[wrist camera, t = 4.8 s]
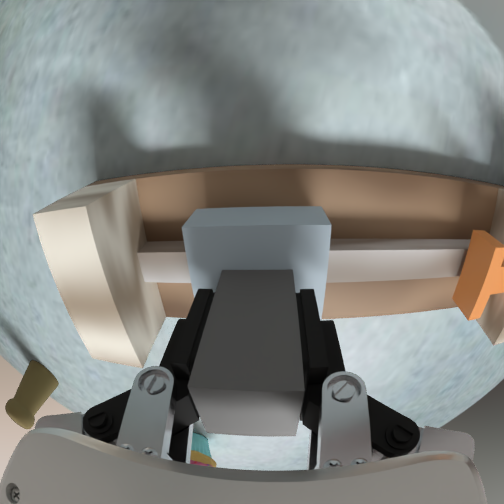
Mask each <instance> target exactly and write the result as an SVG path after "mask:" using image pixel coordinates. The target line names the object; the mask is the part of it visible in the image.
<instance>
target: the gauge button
mask: <svg viewBox="0 0 504 504" xmlns="http://www.w3.org/2000/svg"><path fill="white" fill-rule="evenodd" d="M503 292H504V245H503V244H502V243H501V242H499V241H498V240H497V239H495V238H494V237H493V236H491V235H490V234H489V233H487V232H486V231H485V230H473V232H472V236H471V240H470V244H469V248H468V251H467V255H466V258H465V262H464V265H463V268H462V271H461V274H460V277H459V280H458V283H457V286H456V289H455V292H454V294H453V297H452V299H453V301H454V302H455V303H456V304H457V306H458V307H459V309H460V310H461V311H462V313H463V314H464V315H465V317H466V318H467V320H468V321H469V320H473V319H478V318H480V317H481V315H482V313H483V311H484V308H485V306H486V304H487V301H488V299H489V297H490V295H491V294H497V293H503Z"/></svg>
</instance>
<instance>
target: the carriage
mask: <svg viewBox="0 0 504 504" xmlns="http://www.w3.org/2000/svg"><path fill="white" fill-rule="evenodd" d="M182 232H183V239H184V245H185V251H186V257H187V263H188V268H189V274H190V279H191V284H192V290H193V295H194V298H195V295H196V293H197V290H198V289H212V290H213V292H215V294H214V298H213V301H212V304H211V308H210V311H209V314H208V318H207V321H206V324H205V328H204V331H203V334H202V338H201V341H200V344H199V348H198V351H197V355H196V358H195V362H194V365H193V369H192V372H191V376H190V379H189V383H188V389H189V391H190V394H191V396H192V399H193V401H194V404H195V406H196V409H197V411H198V413H199V416H200V418H201V420H202V423H203V425H204V427H205V429H206V431H207V433H217V434H228V435H244V436H296V432H297V427H298V422H299V417H300V412H301V407H302V402H303V397H304V392H305V388H304V375H303V363H302V351H301V340H300V330H299V320H298V310H297V301H296V293H300V289H314V292H315V296H316V301H317V306H318V311H319V316H320V321H321V319H322V312H323V305H324V297H325V289H326V280H327V271H328V261H329V250H330V238H331V223H330V221H329V219H328V217H327V216H326V214H325V212H324V210H323V208H322V207H321V206H274V207H231V208H205V209H196V210H195V211H194V212H193V214H192V215H191V216H190V217H189V219H188V220H187V221H186V223H185V224H184V225H183V226H182Z"/></svg>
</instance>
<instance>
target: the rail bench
mask: <svg viewBox="0 0 504 504" xmlns="http://www.w3.org/2000/svg"><path fill="white" fill-rule="evenodd" d="M274 206H321V207H322V208H323V210H324V212H325V214H326V216H327V217H328V219H329V221H330V223H331V238H330V250H329V261H328V271H327V280H326V289H325V297H324V305H323V312H322V319H335V318H354V317H369V316H382V315H393V314H404V313H413V312H422V311H431V310H439V309H446V308H453V307H458V306H457V304H456V303H455V302H454V301H453V299H452V297H453V294H454V292H455V289H456V286H457V283H458V280H459V277H460V274H461V271H462V268H463V265H464V262H465V258H466V255H467V251H468V248H469V244H470V240H471V236H472V232H473V230H485V231H486V232H487V233H489V234H490V235H491V236H493V237H494V238H495V239H497V240H498V241H499V242H501V243H502V244H503V245H504V186H501V185H496V184H491V183H487V182H482V181H476V180H471V179H465V178H460V177H453V176H447V175H440V174H433V173H425V172H417V171H409V170H399V169H388V168H376V167H362V166H343V165H309V164H275V165H241V166H222V167H207V168H194V169H183V170H173V171H163V172H155V173H147V174H139V175H132V176H125V177H118V178H112V179H106V180H100V181H96V182H94V183H92V184H90V185H87V186H85V187H83V188H81V189H79V190H77V191H75V192H73V193H71V194H69V195H67V196H65V197H63V198H61V199H59V200H58V201H56V202H54V203H52V204H50V205H48V206H47V207H45V208H43V209H41V210H39V211H38V212H36V213H34V214H33V217H34V221H35V224H36V228H37V232H38V235H39V238H40V241H41V245H42V248H43V251H44V254H45V257H46V259H47V262H48V265H49V268H50V270H51V273H52V276H53V278H54V281H55V283H56V286H57V288H58V290H59V293H60V295H61V297H62V300H63V302H64V304H65V306H66V309H67V311H68V313H69V315H70V317H71V319H72V321H73V323H74V325H75V327H76V329H77V331H78V333H79V335H80V337H81V339H82V340H83V342H84V344H85V346H86V348H87V349H88V351H89V353H90V355H91V356H92V358H94V359H99V360H103V361H108V362H112V363H117V364H123V365H128V366H133V367H139V368H143V366H144V364H145V362H146V360H147V357H148V355H149V353H150V351H151V348H152V346H153V344H154V342H155V340H156V338H157V335H158V333H159V331H160V329H161V327H162V325H163V323H164V320H165V318H166V317H178V318H187V316H188V313H189V310H190V308H191V305H192V303H193V300H194V295H193V290H192V284H191V279H190V274H189V268H188V263H187V257H186V251H185V245H184V239H183V232H182V226H183V225H184V224H185V223H186V221H187V220H188V219H189V217H190V216H191V215H192V214H193V212H194V211H195V210H196V209H205V208H231V207H274ZM476 321H477V322H478V323H479V325H480V326H481V328H482V329H483V331H484V332H485V333H486V335H487V336H488V338H489V339H490V341H491V342H492V344H493V346H494V345H497V344H500V343H503V342H504V292H503V293H497V294H491V295H490V297H489V299H488V301H487V304H486V306H485V308H484V311H483V313H482V315H481V317H480V318H478V319H476Z"/></svg>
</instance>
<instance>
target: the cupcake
mask: <svg viewBox="0 0 504 504" xmlns="http://www.w3.org/2000/svg"><path fill="white" fill-rule="evenodd" d="M190 464H195V465H201V466H209V467H216V462H215V461H214V460H213V459H212V457H211V454H210V450H209V445H208V440H207V439H206V438H205V437H204V436H202V435H199V434H196V433H193V434H192V445H191V456H190Z"/></svg>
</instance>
